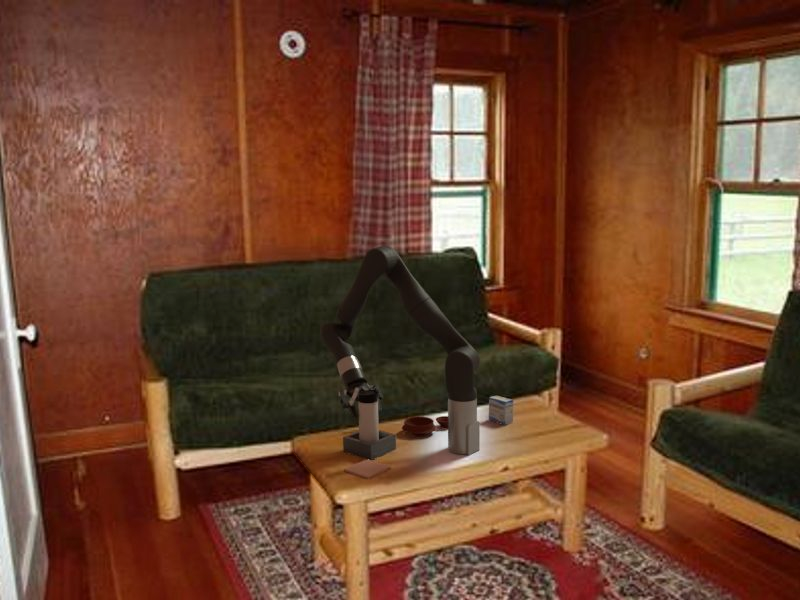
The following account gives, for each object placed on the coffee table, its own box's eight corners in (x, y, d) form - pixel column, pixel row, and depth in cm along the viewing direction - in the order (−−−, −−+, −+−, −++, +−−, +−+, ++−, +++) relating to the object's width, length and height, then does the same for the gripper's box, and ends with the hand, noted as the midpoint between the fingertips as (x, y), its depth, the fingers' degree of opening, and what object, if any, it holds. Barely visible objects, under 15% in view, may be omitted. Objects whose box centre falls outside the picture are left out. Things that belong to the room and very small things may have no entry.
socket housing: (396, 449, 232) (395, 434, 232) (371, 460, 223) (370, 445, 223) (368, 441, 240) (368, 427, 239) (343, 451, 231) (342, 437, 230)
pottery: (395, 431, 249) (395, 419, 249) (442, 421, 260) (442, 409, 259) (414, 441, 240) (413, 429, 239) (462, 430, 250) (462, 418, 249)
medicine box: (488, 420, 259) (488, 397, 258) (496, 417, 262) (496, 394, 261) (505, 425, 254) (505, 402, 252) (513, 422, 257) (513, 399, 255)
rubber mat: (390, 468, 217) (390, 466, 217) (368, 479, 209) (368, 477, 209) (366, 460, 223) (366, 458, 223) (343, 470, 216) (343, 468, 216)
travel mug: (377, 454, 228) (376, 393, 225) (357, 453, 229) (355, 392, 226) (381, 447, 234) (380, 388, 231) (362, 446, 235) (360, 387, 232)
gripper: (335, 369, 232) (351, 413, 224) (374, 363, 239) (391, 405, 231) (328, 382, 238) (344, 425, 230) (367, 375, 245) (383, 417, 237)
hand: (368, 415), depth 230 cm, fingers open, 8 cm apart
